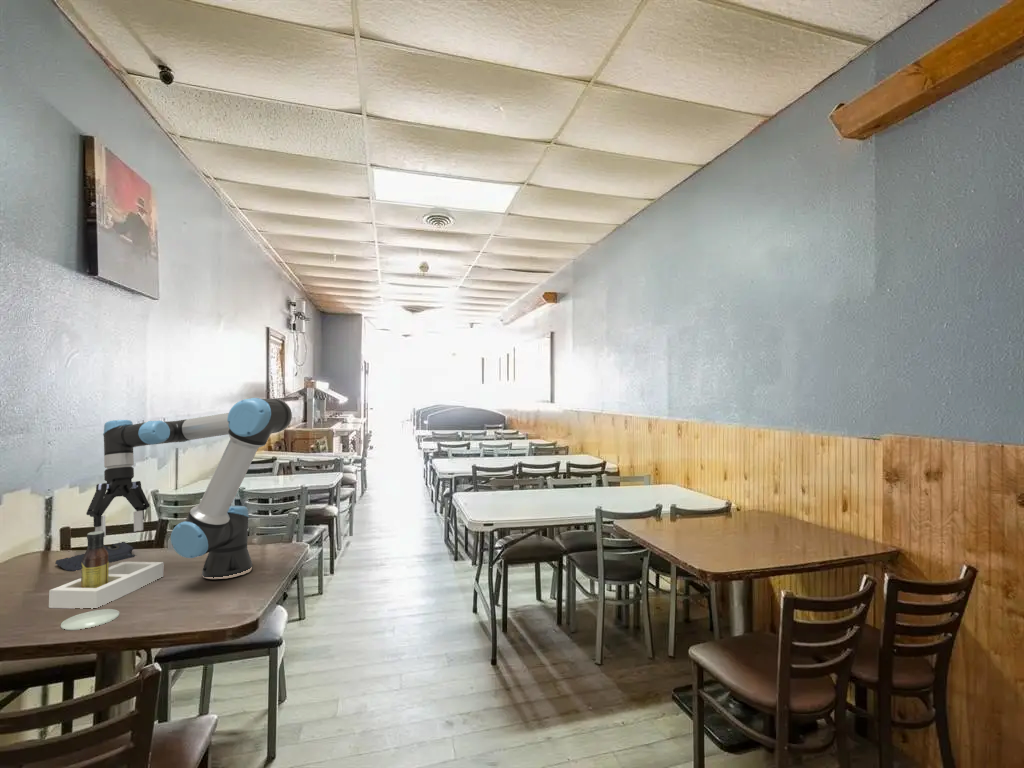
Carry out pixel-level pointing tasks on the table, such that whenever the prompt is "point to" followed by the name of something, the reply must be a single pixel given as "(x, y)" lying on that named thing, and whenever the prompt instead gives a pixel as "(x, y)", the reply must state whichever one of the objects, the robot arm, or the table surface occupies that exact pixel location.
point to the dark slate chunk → (114, 554)
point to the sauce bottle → (95, 562)
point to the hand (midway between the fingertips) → (120, 534)
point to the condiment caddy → (106, 586)
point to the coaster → (90, 619)
